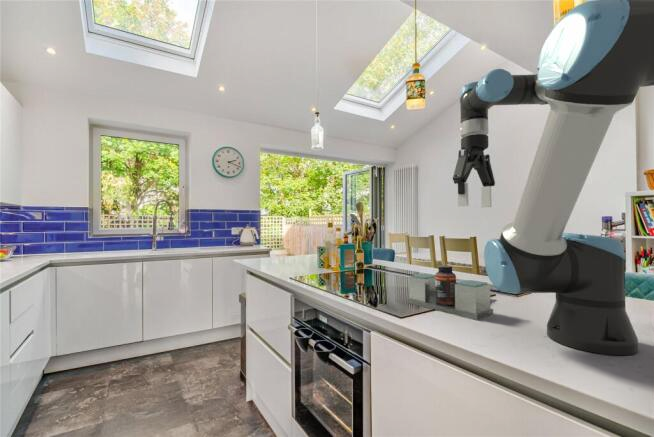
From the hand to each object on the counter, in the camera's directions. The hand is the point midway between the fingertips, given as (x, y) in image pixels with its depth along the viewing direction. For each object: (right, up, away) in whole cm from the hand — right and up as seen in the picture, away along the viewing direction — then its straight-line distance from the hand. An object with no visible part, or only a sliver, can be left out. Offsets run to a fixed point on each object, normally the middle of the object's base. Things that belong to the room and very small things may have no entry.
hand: (475, 206), depth 95 cm
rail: (-8, -31, +1) cm, 32 cm away
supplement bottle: (-9, -30, +1) cm, 31 cm away
